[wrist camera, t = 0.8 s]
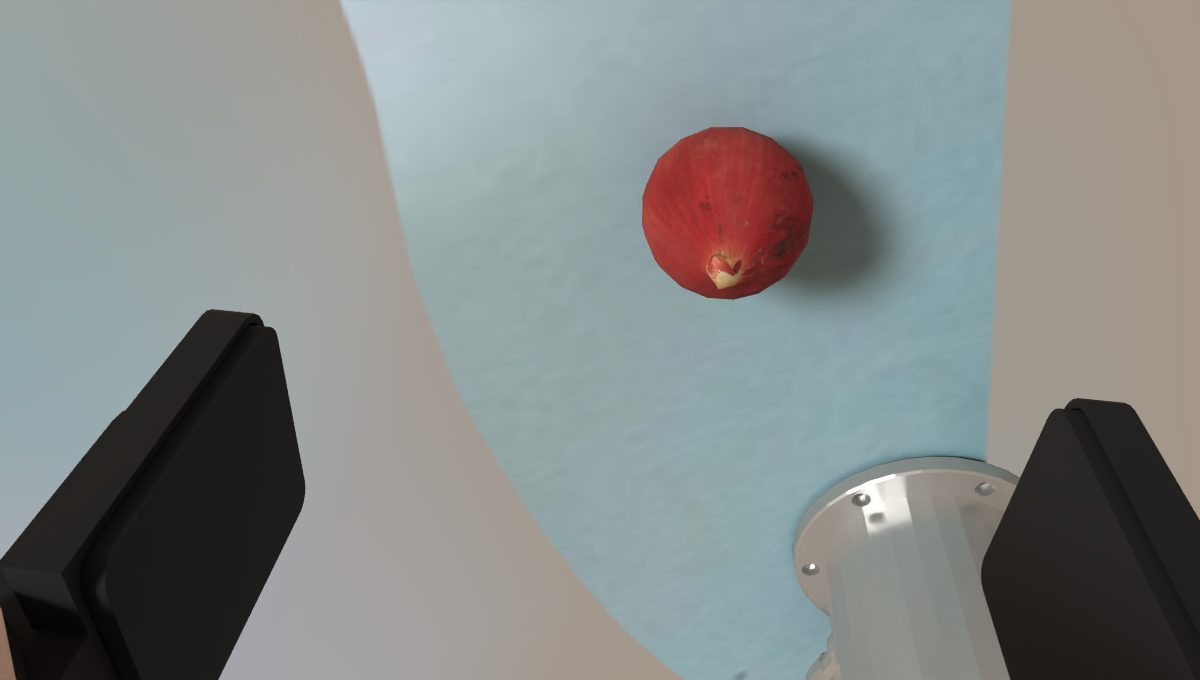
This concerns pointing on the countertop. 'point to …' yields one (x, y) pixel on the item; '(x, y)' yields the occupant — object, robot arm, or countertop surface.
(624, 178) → the countertop surface
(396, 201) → the countertop surface
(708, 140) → the onion
